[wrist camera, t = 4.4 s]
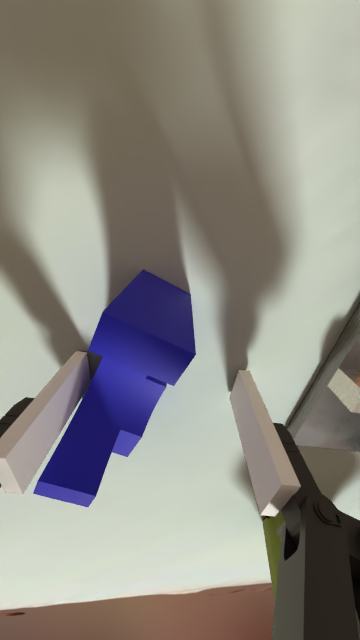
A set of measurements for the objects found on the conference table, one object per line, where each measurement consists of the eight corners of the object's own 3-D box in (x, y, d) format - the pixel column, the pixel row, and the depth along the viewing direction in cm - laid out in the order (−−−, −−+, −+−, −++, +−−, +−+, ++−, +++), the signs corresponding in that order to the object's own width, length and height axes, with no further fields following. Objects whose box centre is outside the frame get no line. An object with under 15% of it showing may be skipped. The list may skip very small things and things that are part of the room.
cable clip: (136, 418, 16) (113, 513, 11) (85, 400, 15) (32, 493, 10) (212, 304, 12) (235, 372, 6) (144, 268, 11) (102, 311, 5)
